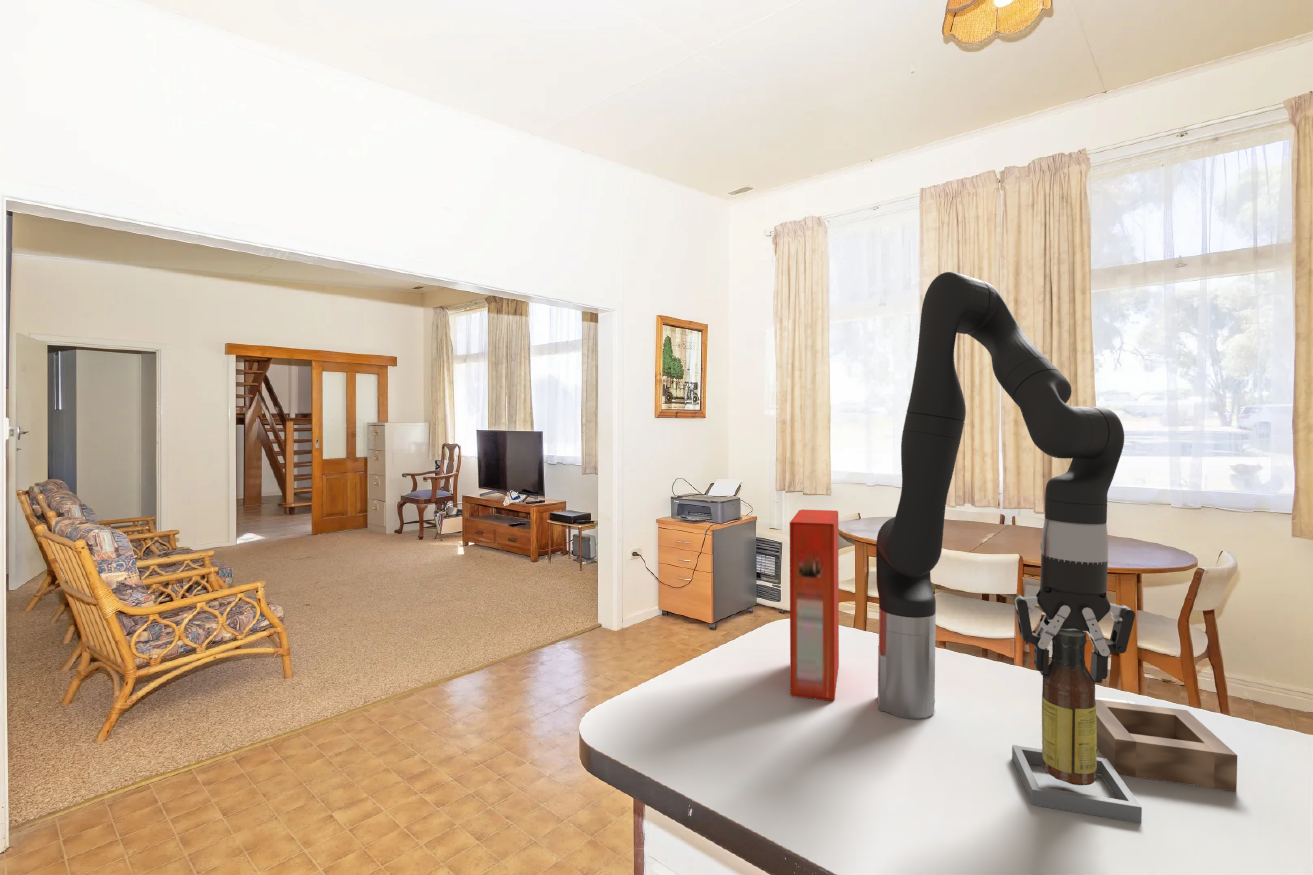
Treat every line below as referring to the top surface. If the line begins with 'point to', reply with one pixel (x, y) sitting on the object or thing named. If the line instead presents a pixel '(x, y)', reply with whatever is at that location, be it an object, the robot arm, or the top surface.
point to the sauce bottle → (1069, 712)
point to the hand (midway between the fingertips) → (1069, 676)
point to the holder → (1163, 745)
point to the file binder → (814, 604)
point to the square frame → (1077, 802)
